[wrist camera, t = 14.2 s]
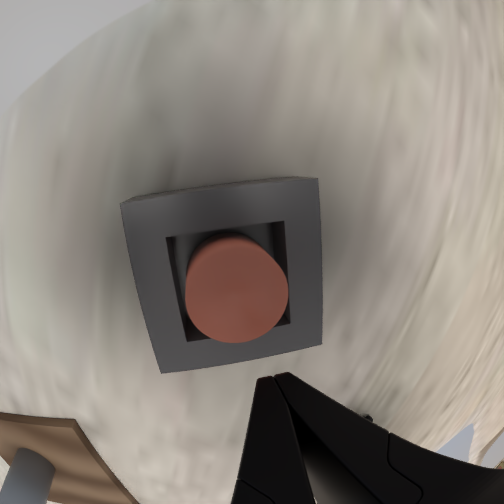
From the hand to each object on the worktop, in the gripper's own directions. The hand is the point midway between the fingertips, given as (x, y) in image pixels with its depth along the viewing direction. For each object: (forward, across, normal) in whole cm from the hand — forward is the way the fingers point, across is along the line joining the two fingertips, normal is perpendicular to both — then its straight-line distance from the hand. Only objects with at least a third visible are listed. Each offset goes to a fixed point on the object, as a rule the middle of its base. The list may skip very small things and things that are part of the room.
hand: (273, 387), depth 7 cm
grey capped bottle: (+9, +22, +17) cm, 29 cm away
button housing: (+10, 0, 0) cm, 10 cm away
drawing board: (+10, +21, +19) cm, 30 cm away
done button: (+9, 0, 0) cm, 9 cm away
